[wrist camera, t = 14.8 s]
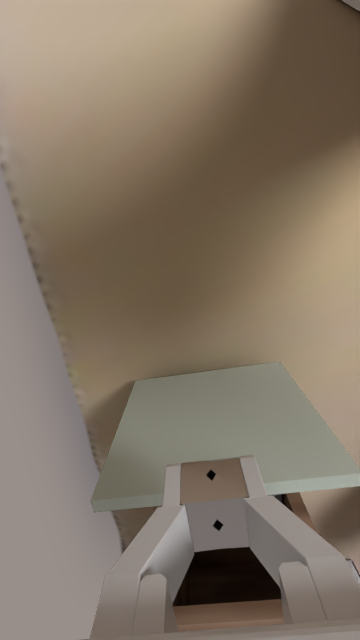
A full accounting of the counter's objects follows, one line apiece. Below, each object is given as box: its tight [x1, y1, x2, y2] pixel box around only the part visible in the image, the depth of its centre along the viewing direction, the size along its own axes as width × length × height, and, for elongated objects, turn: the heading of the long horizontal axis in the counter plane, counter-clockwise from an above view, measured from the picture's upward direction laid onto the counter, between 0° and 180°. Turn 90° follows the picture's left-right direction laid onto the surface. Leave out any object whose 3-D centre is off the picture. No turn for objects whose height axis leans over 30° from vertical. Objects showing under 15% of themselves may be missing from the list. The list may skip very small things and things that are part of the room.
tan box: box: [154, 492, 317, 632], centre depth 27 cm, size 16×14×14 cm
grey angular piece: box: [91, 362, 360, 512], centre depth 22 cm, size 15×14×13 cm
